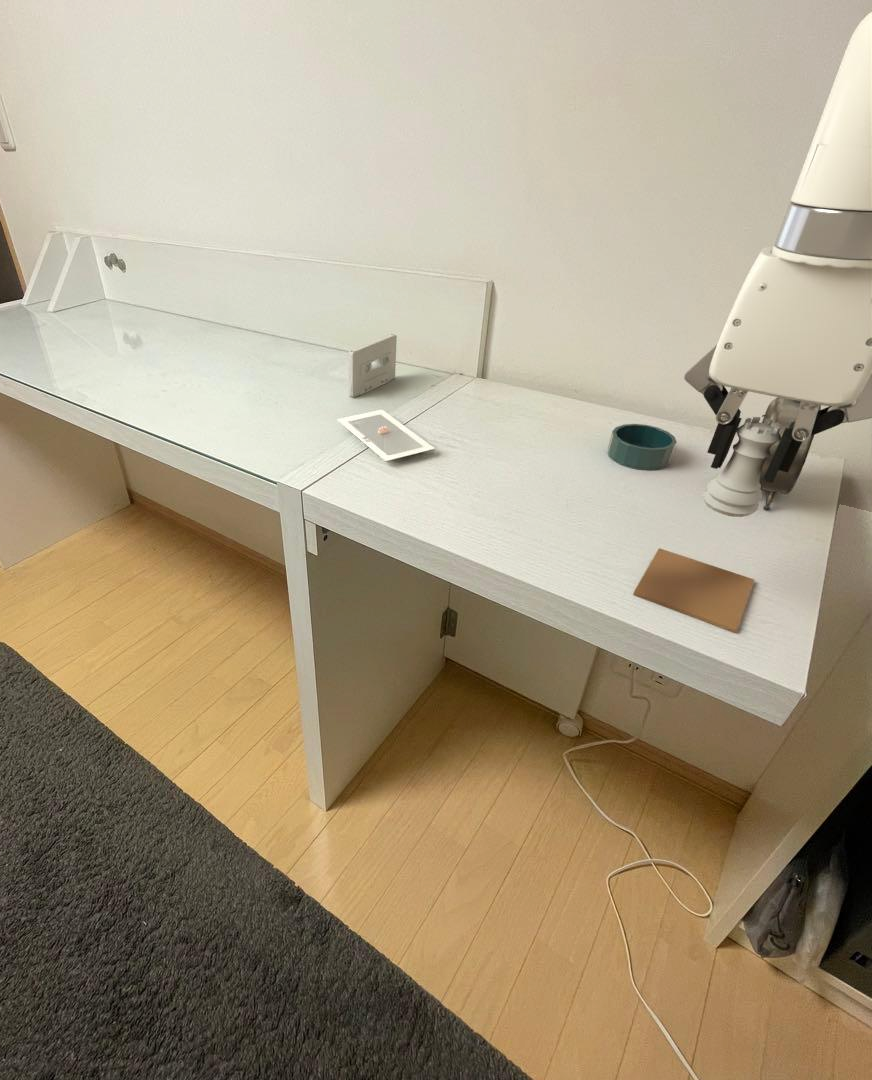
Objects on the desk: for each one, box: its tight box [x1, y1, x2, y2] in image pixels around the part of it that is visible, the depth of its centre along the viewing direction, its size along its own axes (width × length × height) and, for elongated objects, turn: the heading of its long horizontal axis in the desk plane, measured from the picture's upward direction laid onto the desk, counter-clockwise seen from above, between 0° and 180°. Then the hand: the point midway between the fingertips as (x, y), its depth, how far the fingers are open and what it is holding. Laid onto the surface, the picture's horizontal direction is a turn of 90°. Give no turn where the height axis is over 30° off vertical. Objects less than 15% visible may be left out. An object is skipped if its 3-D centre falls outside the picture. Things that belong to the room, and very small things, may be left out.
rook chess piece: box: [702, 416, 781, 518], centre depth 53 cm, size 4×4×8 cm
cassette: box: [348, 333, 398, 398], centre depth 103 cm, size 12×2×8 cm, turn 139°
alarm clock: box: [759, 397, 822, 511], centre depth 70 cm, size 11×5×16 cm, turn 147°
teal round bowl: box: [606, 423, 677, 471], centre depth 82 cm, size 8×8×3 cm
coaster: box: [632, 547, 755, 634], centre depth 60 cm, size 9×9×1 cm
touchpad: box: [336, 409, 436, 462], centre depth 88 cm, size 8×15×2 cm, turn 25°
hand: (744, 467), depth 53 cm, fingers closed on rook chess piece, 3 cm apart
